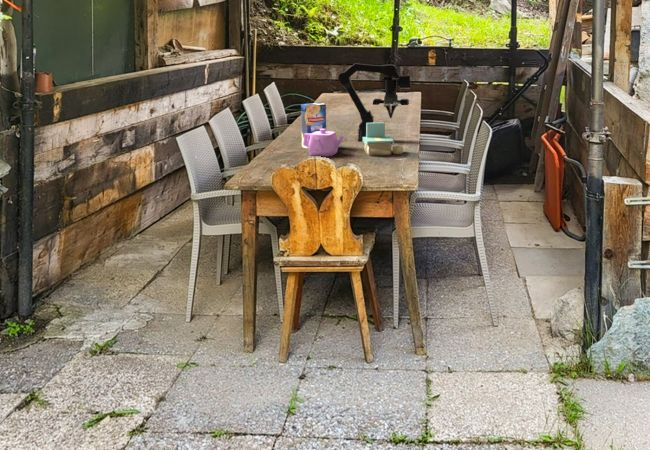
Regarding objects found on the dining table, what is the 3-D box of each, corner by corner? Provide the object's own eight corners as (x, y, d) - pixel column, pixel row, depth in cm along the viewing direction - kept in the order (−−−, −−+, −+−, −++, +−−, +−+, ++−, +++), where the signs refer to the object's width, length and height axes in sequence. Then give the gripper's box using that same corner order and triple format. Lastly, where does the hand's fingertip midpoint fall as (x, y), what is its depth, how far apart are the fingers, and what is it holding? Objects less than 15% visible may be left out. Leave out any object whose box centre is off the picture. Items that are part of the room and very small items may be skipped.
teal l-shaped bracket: (362, 140, 423) (362, 122, 420) (388, 140, 424) (388, 122, 422) (367, 145, 409) (367, 126, 406) (393, 144, 410) (393, 126, 408)
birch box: (364, 150, 424) (364, 139, 423) (385, 150, 426) (386, 138, 424) (369, 155, 411) (368, 143, 409) (391, 154, 412) (391, 142, 411)
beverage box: (326, 146, 439) (325, 104, 433) (307, 148, 434) (306, 105, 428) (320, 144, 444) (319, 102, 439) (301, 146, 439) (300, 104, 434)
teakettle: (329, 149, 430) (329, 125, 426) (346, 154, 415) (346, 129, 412) (300, 153, 422) (299, 128, 419) (316, 158, 407) (315, 132, 404)
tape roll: (391, 153, 415) (391, 147, 414) (393, 152, 420) (393, 145, 419) (402, 154, 414) (402, 147, 413) (403, 152, 419) (403, 146, 418)
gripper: (370, 90, 443) (370, 119, 447) (406, 90, 439) (406, 120, 443) (374, 87, 453) (374, 117, 457) (409, 88, 449) (409, 117, 453)
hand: (390, 118), depth 452 cm, fingers closed
